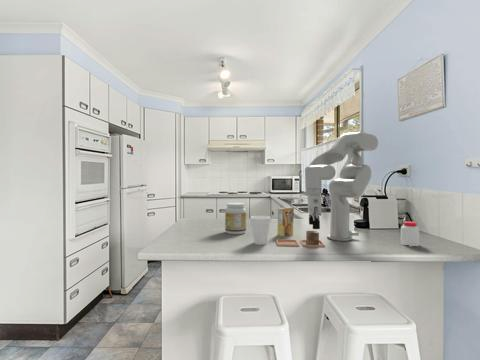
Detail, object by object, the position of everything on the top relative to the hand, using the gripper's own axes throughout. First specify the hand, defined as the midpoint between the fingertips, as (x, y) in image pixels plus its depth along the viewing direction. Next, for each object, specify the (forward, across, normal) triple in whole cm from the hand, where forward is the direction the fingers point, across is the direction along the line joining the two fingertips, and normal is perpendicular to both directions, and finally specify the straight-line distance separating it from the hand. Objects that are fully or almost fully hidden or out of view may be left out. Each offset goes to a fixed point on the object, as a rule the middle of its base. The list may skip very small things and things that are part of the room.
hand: (314, 226), depth 142 cm
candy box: (+9, +19, +12) cm, 24 cm away
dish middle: (+8, -1, +13) cm, 16 cm away
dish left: (+9, -1, +1) cm, 9 cm away
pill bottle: (+11, +4, -47) cm, 48 cm away
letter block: (+8, -1, +1) cm, 8 cm away
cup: (+8, -1, +26) cm, 28 cm away
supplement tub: (+8, +24, +40) cm, 48 cm away
